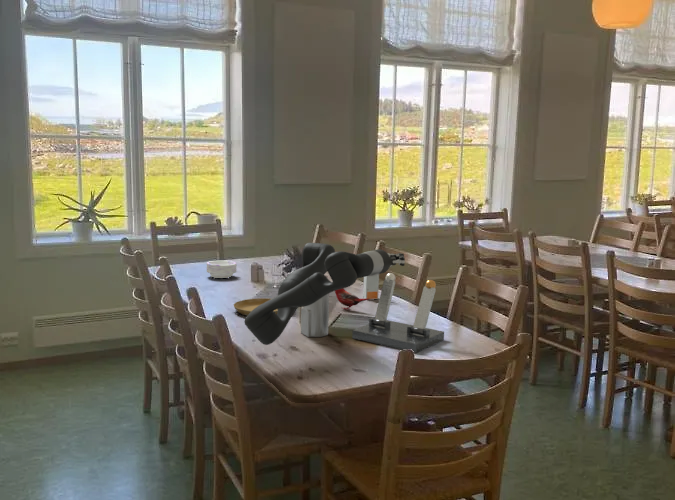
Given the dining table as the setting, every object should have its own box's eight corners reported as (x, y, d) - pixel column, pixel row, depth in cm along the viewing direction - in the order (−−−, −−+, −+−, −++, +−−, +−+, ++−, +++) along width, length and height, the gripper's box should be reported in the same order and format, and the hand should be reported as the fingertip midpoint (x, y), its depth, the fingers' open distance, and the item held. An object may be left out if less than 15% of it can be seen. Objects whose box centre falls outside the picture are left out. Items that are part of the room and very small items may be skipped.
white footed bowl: (242, 277, 335) (242, 262, 333) (222, 281, 322) (222, 266, 321) (220, 273, 343) (220, 258, 341) (200, 277, 330) (200, 262, 329)
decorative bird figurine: (334, 306, 275) (334, 283, 274) (370, 312, 267) (371, 289, 265) (330, 308, 273) (331, 285, 272) (367, 314, 264) (368, 290, 263)
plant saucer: (249, 303, 280) (249, 295, 279) (301, 308, 273) (301, 300, 272) (222, 316, 257) (222, 308, 257) (278, 322, 250) (278, 314, 249)
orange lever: (421, 334, 222) (436, 279, 226) (409, 331, 225) (423, 277, 229) (425, 336, 224) (440, 282, 229) (413, 334, 227) (427, 280, 232)
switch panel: (416, 353, 215) (416, 336, 214) (352, 338, 230) (352, 323, 229) (443, 339, 231) (444, 324, 230) (382, 326, 246) (383, 312, 245)
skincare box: (365, 300, 289) (366, 274, 287) (362, 298, 293) (363, 272, 291) (378, 299, 291) (379, 273, 289) (375, 297, 295) (376, 271, 293)
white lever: (382, 326, 231) (395, 272, 234) (370, 324, 234) (383, 271, 237) (387, 328, 234) (399, 275, 237) (375, 325, 237) (388, 273, 240)
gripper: (354, 272, 201) (384, 265, 215) (390, 277, 193) (419, 270, 207) (354, 248, 200) (384, 243, 213) (391, 252, 192) (420, 247, 206)
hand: (401, 256), depth 210 cm, fingers closed
